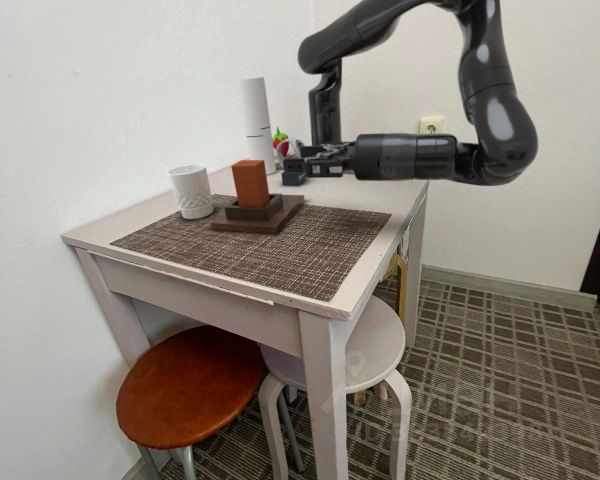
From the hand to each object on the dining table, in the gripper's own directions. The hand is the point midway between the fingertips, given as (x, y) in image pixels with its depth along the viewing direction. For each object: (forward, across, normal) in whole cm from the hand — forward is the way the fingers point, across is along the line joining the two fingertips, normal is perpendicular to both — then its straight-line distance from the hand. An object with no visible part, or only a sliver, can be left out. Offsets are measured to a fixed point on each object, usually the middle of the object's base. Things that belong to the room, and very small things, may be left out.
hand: (293, 158), depth 58 cm
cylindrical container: (+22, -32, +12) cm, 41 cm away
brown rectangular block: (+9, 0, +11) cm, 14 cm away
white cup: (+24, -1, +12) cm, 27 cm away
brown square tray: (+9, -2, +12) cm, 15 cm away
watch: (+9, -23, +12) cm, 27 cm away
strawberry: (+23, -49, +12) cm, 55 cm away
